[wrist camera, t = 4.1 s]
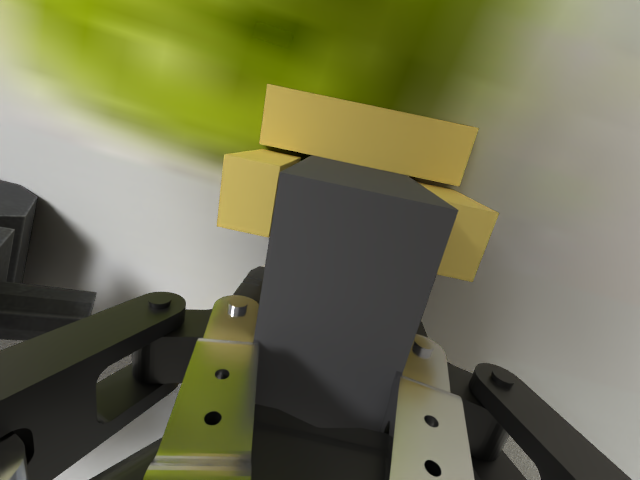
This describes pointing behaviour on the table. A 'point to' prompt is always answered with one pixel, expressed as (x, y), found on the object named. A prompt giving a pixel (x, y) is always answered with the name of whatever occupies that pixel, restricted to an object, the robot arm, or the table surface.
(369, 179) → the grey slab
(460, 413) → the robot arm
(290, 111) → the blocks
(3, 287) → the tool
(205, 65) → the table surface
